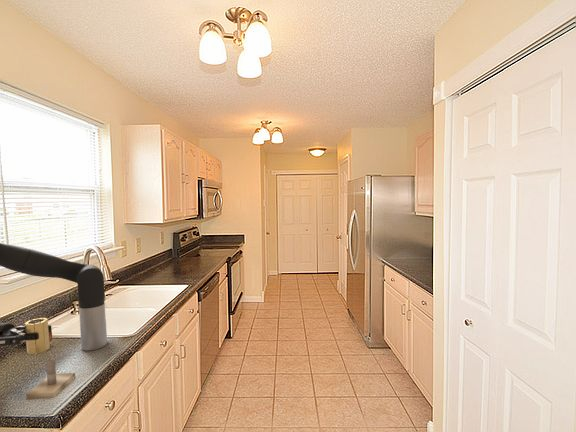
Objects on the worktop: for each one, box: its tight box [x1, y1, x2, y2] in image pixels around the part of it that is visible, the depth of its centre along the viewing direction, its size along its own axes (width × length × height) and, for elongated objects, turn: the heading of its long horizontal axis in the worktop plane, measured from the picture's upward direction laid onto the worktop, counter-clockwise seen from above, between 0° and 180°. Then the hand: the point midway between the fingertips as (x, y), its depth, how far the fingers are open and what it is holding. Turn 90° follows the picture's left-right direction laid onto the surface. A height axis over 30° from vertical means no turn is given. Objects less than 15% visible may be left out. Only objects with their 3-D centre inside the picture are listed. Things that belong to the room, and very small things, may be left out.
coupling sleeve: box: [24, 317, 51, 355], centre depth 117 cm, size 6×6×10 cm
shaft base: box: [25, 358, 76, 400], centre depth 111 cm, size 12×8×10 cm, turn 3°
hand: (44, 332), depth 118 cm, fingers closed on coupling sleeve, 6 cm apart
